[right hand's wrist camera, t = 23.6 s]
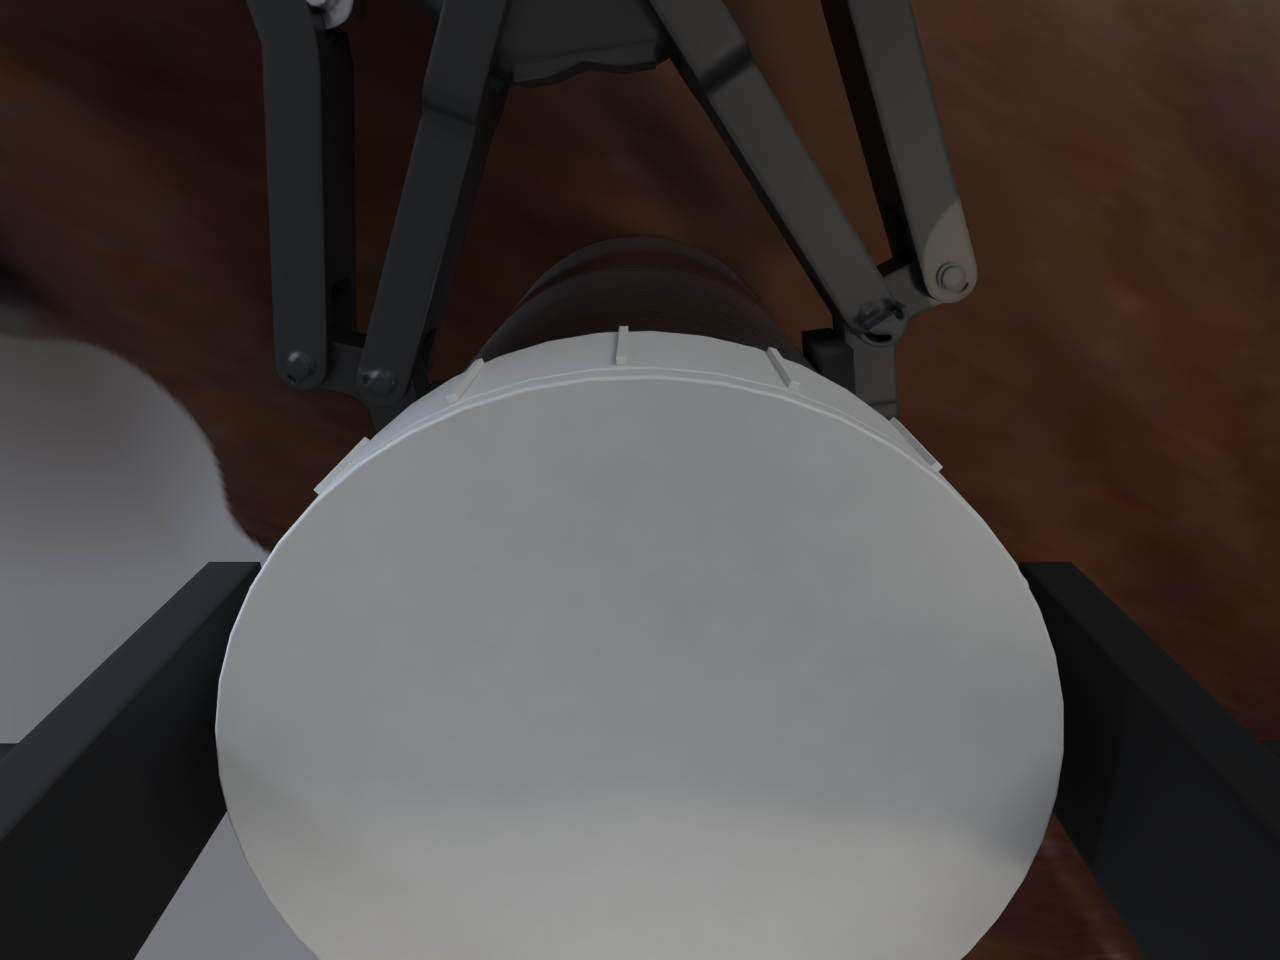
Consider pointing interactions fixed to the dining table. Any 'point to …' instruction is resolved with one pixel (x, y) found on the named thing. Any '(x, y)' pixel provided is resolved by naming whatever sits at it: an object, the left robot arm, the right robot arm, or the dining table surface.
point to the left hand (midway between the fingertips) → (662, 595)
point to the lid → (639, 676)
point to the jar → (640, 299)
